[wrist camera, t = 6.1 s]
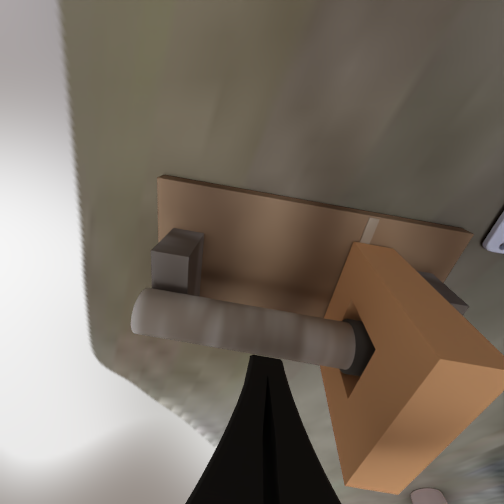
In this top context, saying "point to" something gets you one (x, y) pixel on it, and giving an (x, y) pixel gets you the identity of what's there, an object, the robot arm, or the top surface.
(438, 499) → the smoothie
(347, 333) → the pipe rig
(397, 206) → the top surface
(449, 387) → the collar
